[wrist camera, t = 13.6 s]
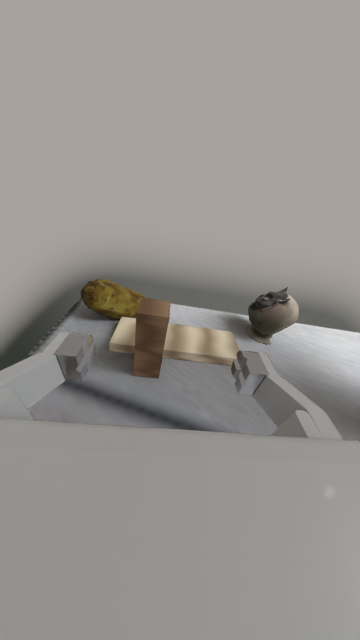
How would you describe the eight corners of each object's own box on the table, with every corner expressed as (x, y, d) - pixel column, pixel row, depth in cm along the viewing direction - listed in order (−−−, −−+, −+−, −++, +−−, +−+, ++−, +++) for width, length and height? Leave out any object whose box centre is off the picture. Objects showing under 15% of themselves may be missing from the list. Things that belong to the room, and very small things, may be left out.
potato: (144, 328, 38) (147, 295, 33) (79, 323, 36) (73, 287, 31) (146, 308, 45) (149, 278, 40) (92, 302, 42) (88, 270, 38)
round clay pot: (235, 319, 48) (244, 343, 40) (253, 277, 42) (268, 296, 33) (271, 326, 49) (287, 351, 40) (294, 286, 42) (319, 306, 34)
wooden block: (163, 334, 37) (172, 282, 31) (158, 378, 28) (169, 317, 22) (144, 332, 37) (148, 278, 30) (133, 375, 28) (136, 312, 21)
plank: (229, 338, 40) (232, 332, 39) (238, 366, 34) (242, 359, 32) (121, 324, 38) (121, 316, 36) (109, 351, 31) (109, 342, 30)
